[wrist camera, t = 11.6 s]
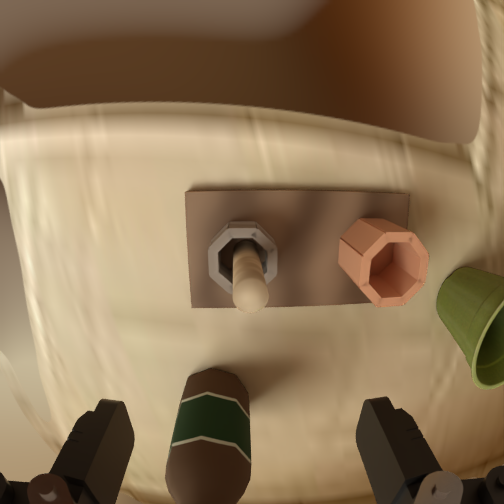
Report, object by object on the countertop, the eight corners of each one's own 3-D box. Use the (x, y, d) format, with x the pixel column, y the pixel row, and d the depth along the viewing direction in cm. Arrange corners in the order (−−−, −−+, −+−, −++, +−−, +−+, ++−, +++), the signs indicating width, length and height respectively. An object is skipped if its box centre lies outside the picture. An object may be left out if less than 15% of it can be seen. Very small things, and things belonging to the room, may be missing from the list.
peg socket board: (404, 193, 29) (424, 198, 25) (394, 297, 32) (410, 313, 28) (186, 191, 29) (178, 195, 25) (193, 303, 32) (187, 322, 28)
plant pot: (421, 352, 35) (466, 408, 24) (414, 266, 31) (475, 310, 21) (491, 317, 34) (542, 358, 23) (491, 234, 31) (556, 262, 20)
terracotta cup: (400, 219, 29) (431, 232, 23) (393, 279, 31) (421, 303, 25) (340, 217, 29) (363, 231, 23) (336, 282, 30) (356, 308, 25)
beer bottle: (246, 364, 34) (252, 579, 11) (251, 413, 36) (259, 598, 13) (176, 366, 34) (124, 567, 11) (188, 415, 36) (159, 592, 13)
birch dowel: (257, 239, 29) (268, 279, 20) (258, 263, 30) (268, 312, 20) (232, 240, 29) (231, 280, 19) (233, 264, 30) (233, 313, 20)
